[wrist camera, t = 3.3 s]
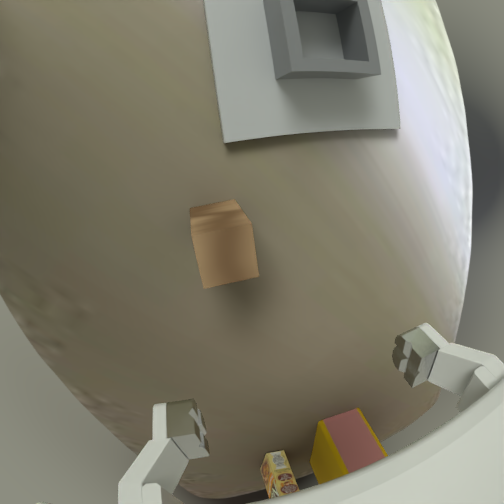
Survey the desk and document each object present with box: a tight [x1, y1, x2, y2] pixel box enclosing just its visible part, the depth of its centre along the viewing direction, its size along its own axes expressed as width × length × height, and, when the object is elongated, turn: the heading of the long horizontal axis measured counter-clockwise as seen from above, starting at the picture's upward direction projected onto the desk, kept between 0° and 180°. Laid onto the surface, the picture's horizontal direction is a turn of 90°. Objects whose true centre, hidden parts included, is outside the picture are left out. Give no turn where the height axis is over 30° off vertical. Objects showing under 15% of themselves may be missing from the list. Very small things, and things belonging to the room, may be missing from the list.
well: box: [203, 0, 400, 143], centre depth 21 cm, size 20×20×6 cm
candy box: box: [260, 450, 299, 499], centre depth 45 cm, size 9×4×15 cm, turn 173°
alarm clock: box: [310, 408, 388, 484], centre depth 42 cm, size 21×9×26 cm, turn 4°
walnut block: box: [190, 199, 259, 289], centre depth 26 cm, size 4×4×8 cm
